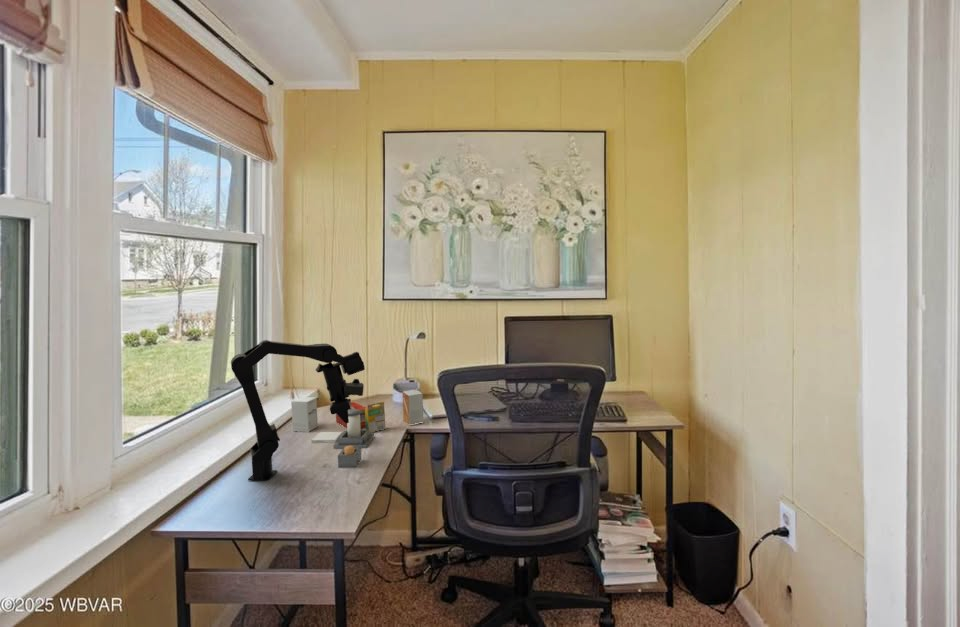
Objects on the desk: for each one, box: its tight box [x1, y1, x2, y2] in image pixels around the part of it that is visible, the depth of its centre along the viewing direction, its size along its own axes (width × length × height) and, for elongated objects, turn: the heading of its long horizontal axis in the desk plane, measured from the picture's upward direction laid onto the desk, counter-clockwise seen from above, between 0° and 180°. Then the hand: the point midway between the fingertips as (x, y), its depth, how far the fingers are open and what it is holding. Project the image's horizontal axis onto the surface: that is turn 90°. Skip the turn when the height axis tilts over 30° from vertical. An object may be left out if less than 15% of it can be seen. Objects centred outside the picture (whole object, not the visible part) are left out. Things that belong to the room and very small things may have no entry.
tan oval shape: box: [343, 445, 355, 454], centre depth 157 cm, size 3×3×5 cm
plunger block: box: [337, 448, 362, 468], centre depth 157 cm, size 6×6×4 cm
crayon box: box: [365, 401, 386, 434], centre depth 189 cm, size 7×3×12 cm, turn 126°
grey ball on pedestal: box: [346, 409, 362, 438], centre depth 176 cm, size 5×5×12 cm
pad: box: [310, 431, 343, 444], centre depth 182 cm, size 9×9×1 cm
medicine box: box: [335, 401, 367, 429], centre depth 198 cm, size 15×8×8 cm, turn 40°
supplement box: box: [290, 396, 319, 433], centre depth 194 cm, size 7×7×13 cm
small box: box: [401, 389, 425, 425], centre depth 199 cm, size 8×6×13 cm
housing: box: [332, 429, 375, 450], centre depth 177 cm, size 12×12×3 cm
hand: (347, 422), depth 160 cm, fingers closed
